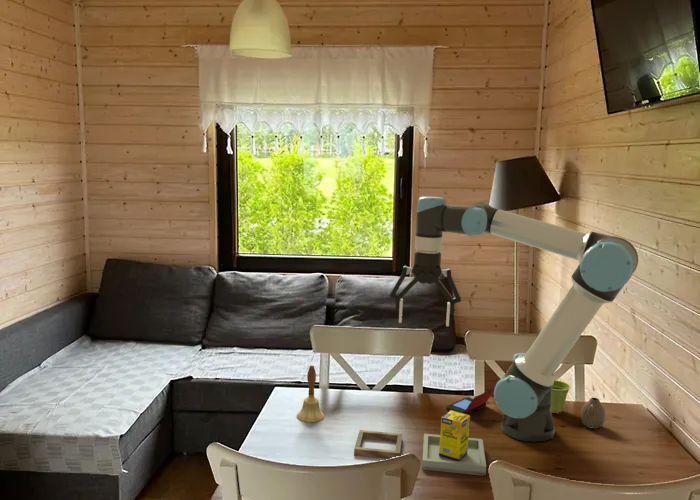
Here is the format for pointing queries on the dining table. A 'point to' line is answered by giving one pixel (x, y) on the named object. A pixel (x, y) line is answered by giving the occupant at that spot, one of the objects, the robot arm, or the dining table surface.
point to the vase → (593, 413)
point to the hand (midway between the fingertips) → (423, 323)
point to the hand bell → (311, 402)
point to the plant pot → (558, 395)
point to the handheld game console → (470, 403)
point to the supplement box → (454, 435)
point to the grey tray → (467, 465)
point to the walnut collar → (377, 452)
